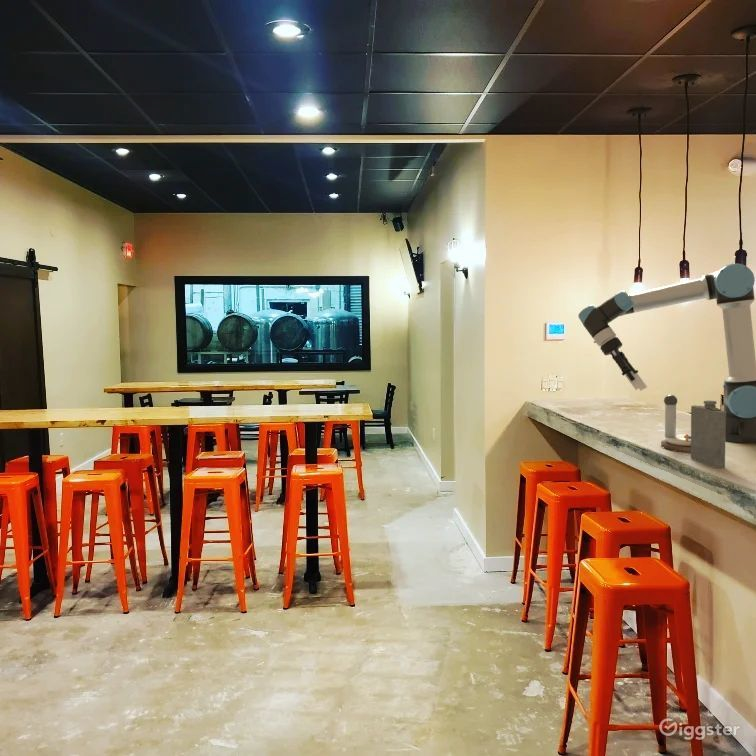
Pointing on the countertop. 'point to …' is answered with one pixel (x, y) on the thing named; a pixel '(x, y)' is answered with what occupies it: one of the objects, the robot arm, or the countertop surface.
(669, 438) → the light grey l-shaped piece
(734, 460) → the countertop surface
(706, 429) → the hip flask
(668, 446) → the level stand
